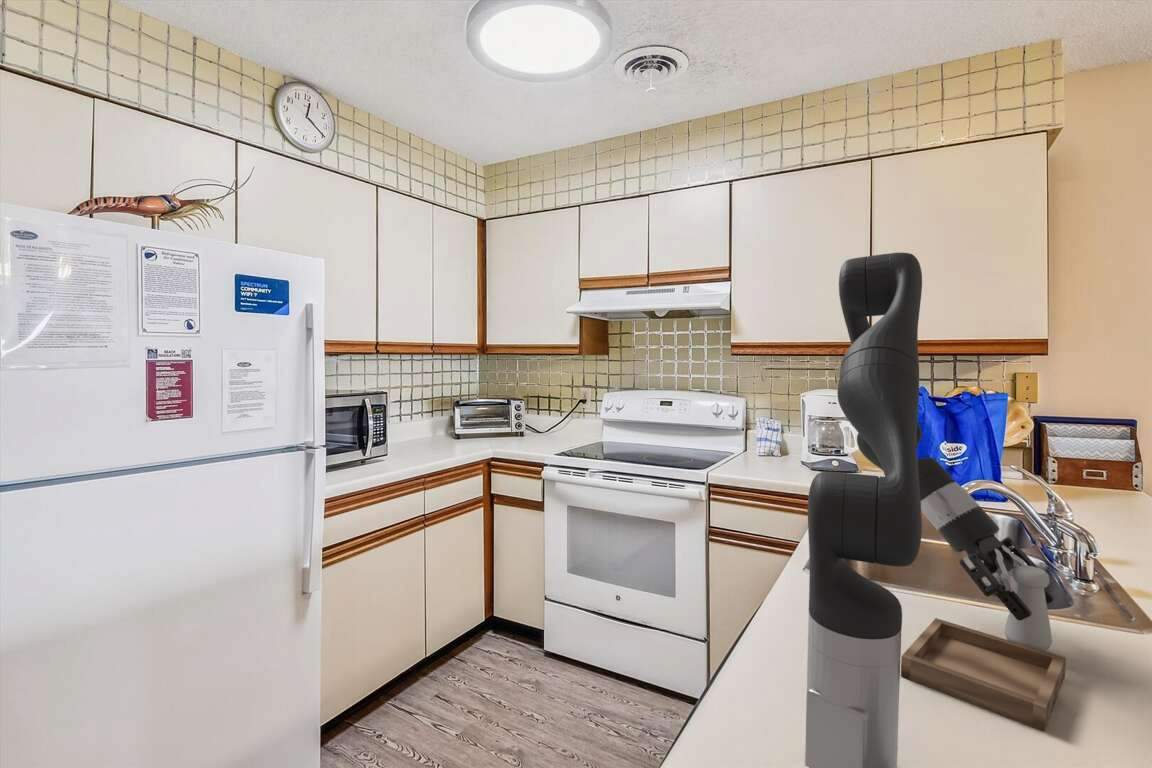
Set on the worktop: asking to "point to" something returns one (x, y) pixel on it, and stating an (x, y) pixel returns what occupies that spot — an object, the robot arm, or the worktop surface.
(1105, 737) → the worktop surface
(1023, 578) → the salt shaker
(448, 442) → the worktop surface
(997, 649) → the walnut tray
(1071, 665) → the worktop surface
